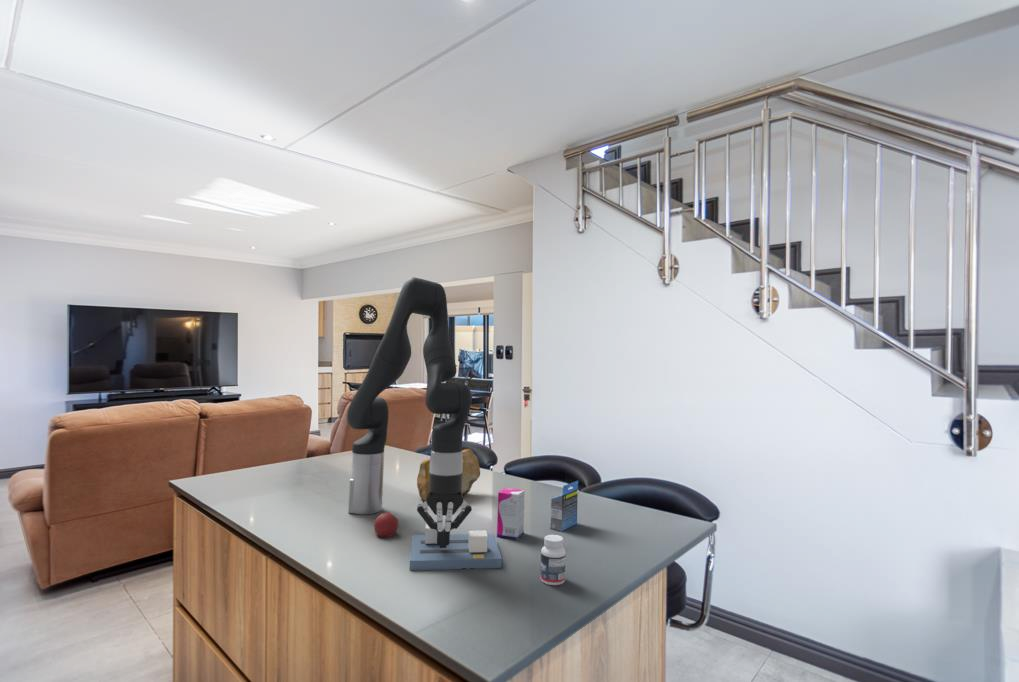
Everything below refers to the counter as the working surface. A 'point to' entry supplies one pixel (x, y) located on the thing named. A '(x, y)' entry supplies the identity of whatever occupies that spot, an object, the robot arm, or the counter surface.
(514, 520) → the supplement box
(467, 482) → the stone
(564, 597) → the counter surface
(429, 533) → the far tab
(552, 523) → the label tape cartridge
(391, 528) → the red bulb syringe
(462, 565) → the switch panel
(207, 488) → the counter surface
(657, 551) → the counter surface
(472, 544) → the near tab
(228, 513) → the counter surface
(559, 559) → the pill bottle
